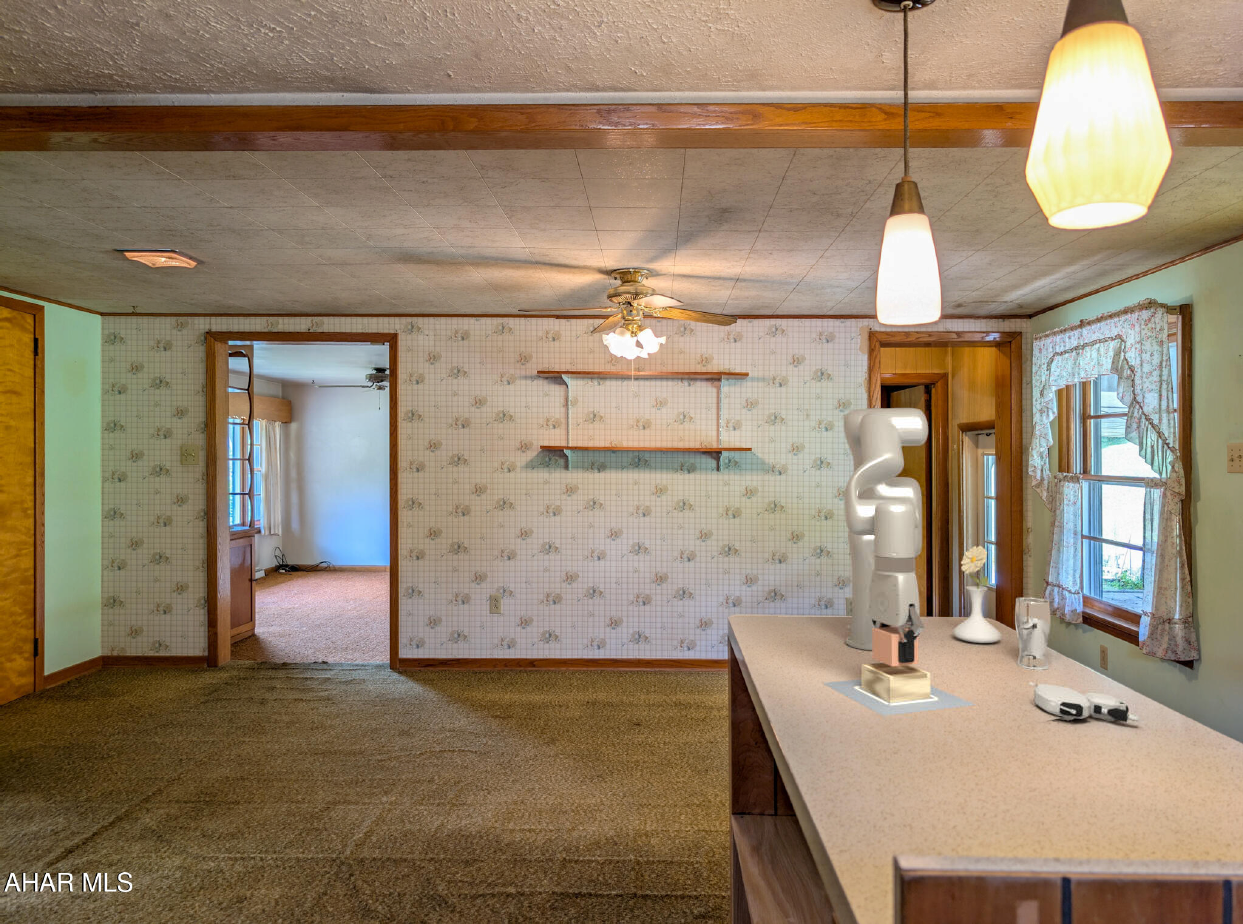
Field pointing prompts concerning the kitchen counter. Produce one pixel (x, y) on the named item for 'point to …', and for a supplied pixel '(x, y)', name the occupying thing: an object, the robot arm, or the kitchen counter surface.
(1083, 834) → the kitchen counter surface
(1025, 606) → the beer glass
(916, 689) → the maple base
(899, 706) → the board
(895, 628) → the terracotta cube
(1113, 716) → the robot toy
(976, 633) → the flower in vase
